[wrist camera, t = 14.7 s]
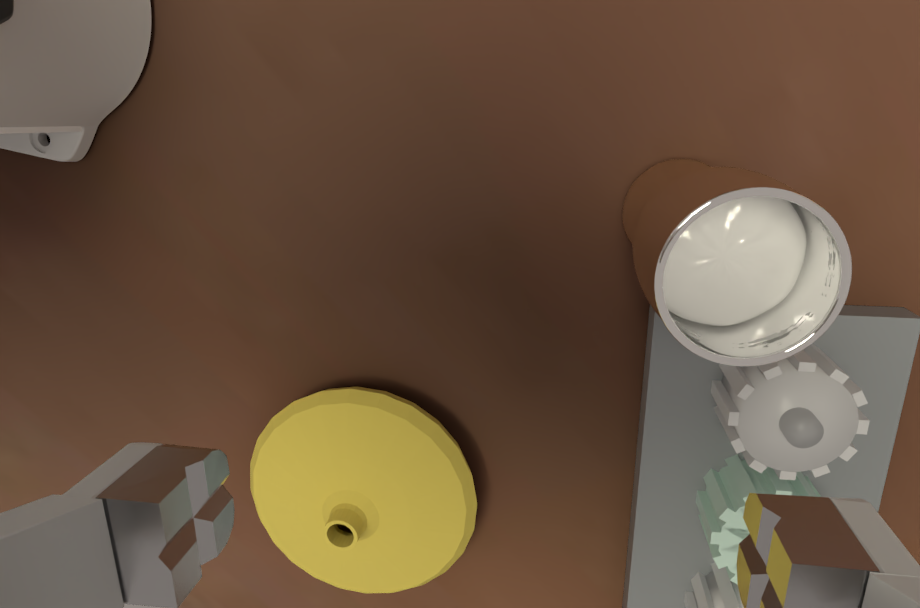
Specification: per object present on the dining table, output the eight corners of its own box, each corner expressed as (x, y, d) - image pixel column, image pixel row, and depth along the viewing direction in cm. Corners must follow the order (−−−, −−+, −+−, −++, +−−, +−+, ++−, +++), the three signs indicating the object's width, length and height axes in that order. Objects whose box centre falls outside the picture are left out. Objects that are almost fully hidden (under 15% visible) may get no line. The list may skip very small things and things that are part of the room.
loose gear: (702, 447, 38) (718, 485, 34) (822, 456, 37) (852, 496, 33) (690, 541, 40) (704, 587, 36) (803, 552, 39) (829, 599, 35)
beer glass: (708, 286, 37) (799, 398, 23) (596, 248, 37) (618, 335, 23) (762, 172, 35) (900, 219, 21) (642, 133, 35) (697, 152, 21)
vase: (228, 463, 46) (172, 522, 40) (360, 324, 41) (322, 366, 35) (383, 598, 48) (355, 678, 41) (530, 481, 43) (524, 549, 36)
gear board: (828, 646, 43) (890, 771, 35) (620, 623, 45) (634, 736, 37) (903, 307, 36) (1004, 366, 28) (650, 297, 38) (675, 350, 30)
